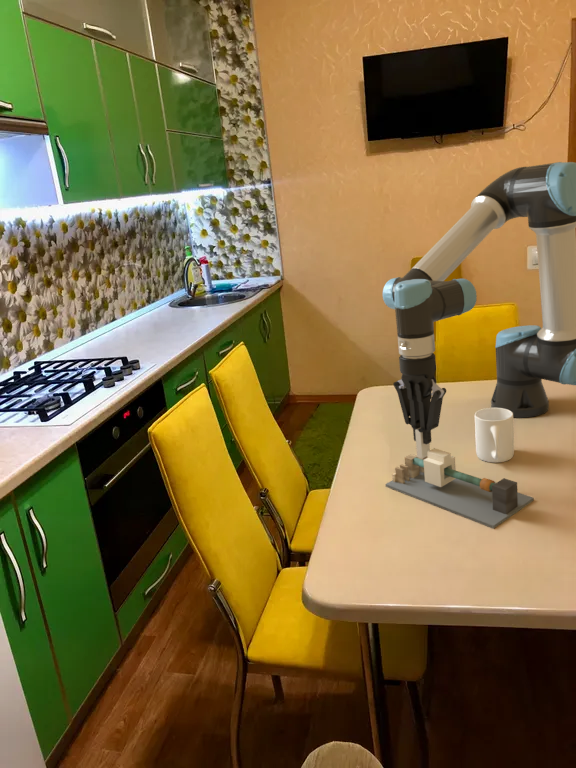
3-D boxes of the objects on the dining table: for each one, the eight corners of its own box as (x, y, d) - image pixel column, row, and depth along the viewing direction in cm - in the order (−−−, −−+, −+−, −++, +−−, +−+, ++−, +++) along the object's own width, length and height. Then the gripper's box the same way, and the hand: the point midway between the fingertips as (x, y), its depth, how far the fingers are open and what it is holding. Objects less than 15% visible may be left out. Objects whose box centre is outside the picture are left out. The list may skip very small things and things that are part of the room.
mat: (425, 464, 148) (425, 462, 148) (533, 500, 126) (533, 497, 126) (385, 486, 140) (385, 484, 140) (493, 528, 118) (493, 525, 118)
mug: (477, 470, 142) (475, 427, 138) (475, 448, 153) (473, 408, 149) (517, 470, 139) (516, 426, 136) (512, 447, 150) (511, 406, 147)
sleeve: (439, 472, 139) (438, 446, 137) (456, 478, 135) (454, 450, 133) (424, 481, 136) (423, 454, 134) (441, 487, 132) (439, 459, 130)
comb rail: (421, 467, 146) (419, 444, 145) (526, 503, 125) (525, 476, 124) (392, 483, 141) (390, 459, 139) (497, 523, 120) (496, 496, 118)
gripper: (382, 354, 133) (390, 454, 140) (429, 362, 123) (436, 469, 130) (405, 346, 137) (412, 442, 145) (453, 353, 127) (458, 457, 134)
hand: (423, 455), depth 137 cm, fingers closed
